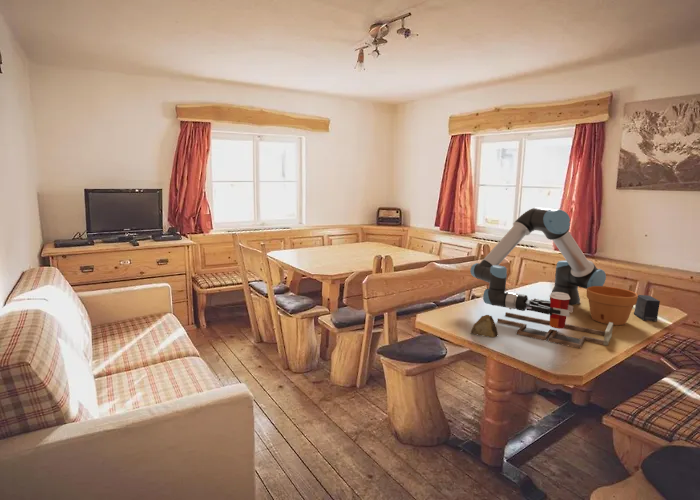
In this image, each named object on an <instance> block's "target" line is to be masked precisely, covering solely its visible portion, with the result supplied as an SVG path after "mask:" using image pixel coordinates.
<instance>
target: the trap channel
mask: <svg viewBox="0 0 700 500" xmlns="http://www.w3.org/2000/svg"><path fill="white" fill-rule="evenodd" d="M505 316H506V317H511V318H516V319H519V320H520V319H521V320H525V321H531V322H534V323H535V322H536V323H541V324H546V325H550V320H548V319H543V318H538V317H532V316H528V315H522V314H518V313H513V312H508V311H506V312H505ZM497 323H501V324H506V325H511V326H514V327H515V326H516V327H519V328H518V329H517V330H516V335H518V334H519V335H518V336H522V335H523V336H524V337H526V338H531V337H532V339H535V338H536V340H540V339H541V340H540V341H544V340H546V341H548V342H549V341H550V343H553V342H555V343H554V344H558V343H559V345H562V344H563V346H567V345H569V346H568V347H571V346H573V347H572V348H576V347H578V348H577V349H581V348H580V347H582V346H583V344H584V343H583V342H585V341H586V342H590V343H595V344H600V345H603V346H609V343H610V342H611V339H612V336H613V328H614V325H613V323H611V322H609V324H607V326H606V329H605V330H603V331H602V330H599V329H593V328H589V327H583V326H578V325H573V324H567V323H565V327H564V329H570V330H574V331H575V330H576V331H579V332H580V331H581V332H584V333H585V332H586V333H589V334H596V335H600V336H603V337H604V338H603V339H600V338H594V337H590V336H585V335H582V336H581V338H577V337H572V336H567V335H563V334H560V333H558V330H555V329H552V328H549V330H547V331H545V330H541V329H535V328H530V327H528V326H527V325H528V324H527V323H522V322H518V321H512V320H509V319H503V318H497ZM547 338H548V339H547Z"/></svg>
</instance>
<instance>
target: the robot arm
mask: <svg viewBox="0 0 700 500" xmlns="http://www.w3.org/2000/svg"><path fill="white" fill-rule="evenodd" d="M512 224H513V226H512V227H511V229H509V231H508V232H507V233H505V234H504V236H503V237H502V238H501V239H500V241H499V242H498V243H497V244H496V245H495V246H494V247H493V248H492V249H491V251H490V252H489V253H487V255H486V256H485V257H484V258H483V259H482V260H481V262H479V263H478V262H477V263H474V264H472V265H471V267H470V271H469V272H470V274H471V276H472V277H473V278H475V279H477V280H481V281H484V282H486V283H488V288H485V290H484V291H483V295H482V299H483V302H484V303H485V304H486V305H491V306H495V307H496V306H497V307H502V308H506V309H508V310H515V309H516V310H517V311H522V312H524V311H531V312H535V313H540V314H544V315H548V316H550V315H552V313H553V314H557V315H562V316H566V318H567V317H568V318H569V317H570V313H573V311H574V306H573V305H578V304H580V303H581V297H580V293H579V290H578V288H583V289H586V290H587V288H588V287H592V286H604V285H605V284H606V283H605V282H606V278H607V275H606V271H605V270H604V269H601V268H597V266H596V264H595V263H594V262H593V261H592V260H589V259H587V257H586V256H585V254H584V253H583V251H582V249H581V247H580V246H579V245H578V243H577V241H576V240H575V239H574V237H573V235H572V234H571V232H570V226H571V218H570V216H569V214H568V212H567V211H565V210H563V209H559V208H550V207H533V208H531V209H528V210H527V211H525V212H523V213H522V214H521V215H520V216H518V217H517V219H516V220H515V221H514V222H513V223H512ZM534 231H538V232H541V233H543V234H544V236H545V237H546V239H548V240H550V241H552V242H553V243H554V245H555V246H556V248H557V249H558V250H559V252H560V254H561V255H562V257H563V258H564V259H565V260H558V261H557V263H556V267H555V276H554V285H553V286H554V287H553V288H552V291H551V293H552V292H562V293H566V294H568V295H569V296H570V299H569V305H568V310H565V309H559V308H554V307H553V308H550V300H546V299H545V300H544V299H539V298H533V299H529V298H528V295H526V294H521V293H516V292H510V291H506V288H507V287H506V286H507V277H508V273H507V271H508V270H507V267H506V266H505V265H501V263H502V262H503V261H504V260H505V259H506V257H507V256H509V254H510V253H511V252H513V250H514V249H515V248H516V247H517V245H518V244H519V243H520V242H521V241H522V240H523V239H524V238H525V236H529V235H530V234H531V233H532V232H534ZM550 298H551V297H550V296H549V299H550Z"/></svg>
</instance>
